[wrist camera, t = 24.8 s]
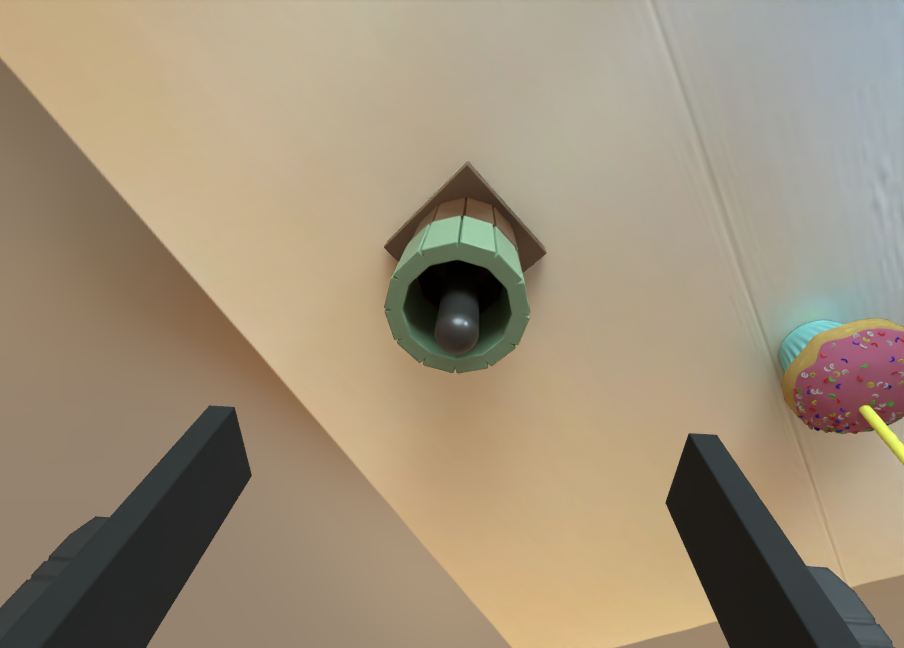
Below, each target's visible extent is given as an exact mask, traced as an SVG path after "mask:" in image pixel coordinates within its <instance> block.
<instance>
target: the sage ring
mask: <svg viewBox="0 0 904 648" xmlns="http://www.w3.org/2000/svg"><path fill="white" fill-rule="evenodd" d="M454 260H460V261H464V262H467V263H471V264H474V265H477V266H481V267H484V268H487V269H488V270H489V271H490V272H491V273H492V274H493V275H494V276H495V277H496V278H497V279H498V280H499V281H500V282H501V283H502V285H503V288H502V291H501V294H500V296H499V299H498V300H497V301H496V302H495V303H493V304H492V305H491V306H490V307H488V308H487V309H486V310H485V311H484V312H482V313H479V338H478V341H477V343H476V344H475V346H474V347H473V348H472V349H471V350H470V351H468V352H466V353H463V354H451V353H448V352H446V351H445V350H443V349H442V348H441V347H440V346H439V344H438V343H437V341H436V337H435V327H436V321H437V316H438V311H436V310H435V309H434V308H433V307H432V306H431V305H430V304H429V303H428V302H427V301H426V300H425V299H424V298H423V297H422V296H421V293H420V290H419V286H418V283H417V280H416V278H417V277H418V276H419V275H420V274H421V273H422V272H424V271H425V270H426V269H427V268H428V267H429V266H431V265H436V264H441V263H445V262H450V261H454ZM384 308H386V309H385V314H386V317H387V320H388V323H389V326H390V329H391V331H392V334H393V337H394V340H397V339H398V341H397V343H398V344H399V345H400V346H401V347H402V348H403V349H404V350H405V351H407V352H408V353H409V354H410V355H411V356H412V357H413V358H414V359H416V360H417V361H418V362H419V363H420V362H422V361H423V360H424V361H423V365H424V366H428V367H432V368H435V369H439V370H443V371H447V372H450V373H454V371H455V369H456V373H463V372H469V371H475V370H480V369H486V368H488V364H489V365H490V366H493V365H494V364H495V363H496V362H498V361H499V360H500V359H502V358H503V357H504V356H506V355H507V354H508V353H510V352H511V351H512V350H514V349H515V345H518V344H519V342H520V340H521V337H522V335H523V333H524V330H525V328H526V325H527V323H528V321H529V318H530V316H529V313H530V308H529V303H528V298H527V292H526V287H525V282H524V278H523V274H522V270H521V266H520V261H519V257H518V253H517V251H516V250H515V246H514V245H513V244H512V243H511V242H510V241H509V240H508V239H507V238H506V237H505V236H504V234H503V233H502V232H501V231H500V230H499V229H498V228H497V227H496V226H495V227H494V228H493V224H491V223H487V222H484V221H481V220H477V219H474V218H471V217H467V216H463V220H462V219H461V216H456V217H452V218H448V219H443V220H439V221H435V222H432V223H431V226H430V225H429V224H428V225H427V226H426V227H425V228H424V229H422V230H421V231H420V232H419V233H418V234H417V235H416V236H415V237H414V238H413V239H412V240H411V241H410V242H409V243H408V245H407V247H406V248H405V250H404V253H403V255H402V257H401V259H400V261H399V263H398V265H397V267H396V269H395V271H394V273H393V275H392V277H391V281H390V285H389V289H388V293H387V298H386V302H385V306H384Z"/></svg>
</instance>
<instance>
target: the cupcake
mask: <svg viewBox="0 0 904 648" xmlns="http://www.w3.org/2000/svg"><path fill="white" fill-rule="evenodd" d="M779 359H780V362H781V365H782V366H783V368H784V371H785V374H784V377H783V381H782V388H783V393H784V399H785V402H786V403H787V405H788V406H789V407H790V408H791V409H792V411H793V412H794V413H795V414H796V415H797V416H798V417H799V418H800V419H801V420H802V421H803V422H804V423H805V424H806V425H808V427H809V428H810V429H811V430H812V429H813V428H812V427H814V429H815V430H817V431H819V430H822V431H824V432H826V433H828V432H836V433H840V434H845V433H853V434H857V433H858V432H865V431H873V430H875V431H876V432H877V434H878V435H879V436H880V437H881V438H882V440H883V441H884V442H885V443H886V444H887V446H888V447H889V448H890V449H891V450H892V452H893V453H894V454H895V455H896V456H897V458H898V459H899V460H900V461H901V462H902V464H903V465H904V445H903V443H902V442H901V441H900V440H899V439H898V438H897V437H896V435H895V434H894V433H893V432H892V431H891V430H890V428H889V427H888V426H887V425H889V424H892V423H894V422H896V421H898V420H899V419H902V417H904V327H902V326H899V325H897V324H895V323H893V322H891V321H889V320H886V319H864V320H859V321H853V322H850V323H847V324H842V323H838V322H834V321H828V320H819V321H813V322H809V323H806V324H804V325H802V326H800V327H798V328H797V329H795V330H794V331H793V332H791V333H790V334H789V335H788V336H787V337H786V339H785V340H784V341H783V343H782V345H781V347H780V351H779Z"/></svg>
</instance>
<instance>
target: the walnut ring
mask: <svg viewBox="0 0 904 648" xmlns="http://www.w3.org/2000/svg"><path fill="white" fill-rule="evenodd" d="M456 216H461V219H462V220H463V216H467V217H471V218H474V219H477V220H481V221H484V222H487V223H491V224H493V228H494V227H495V226H496V227H497V228H498V229H499V230H500V231H501V232H502V233H503V234H504V236H505V237H506V238H507V239H508V240H509V241H510V242H511V243H512V244H513V245H514V246H515V250H516V251H517V253H518V257H519V251H518V247H517V243H516V240H515V236H514V232H513V228H511V224H510V223H509V222H508V221H507V220H506V219H505V218H504V217H503V215H502V214H501V213H500V212H499V211H498V210H497V209H496V208H495V207H494V208H492V205H490V204H487V203H484V202H481V201H477V200H474V199H471V198H467V201H466V200H465V198H460V199H456V200H452V201H448V202H444V203H440V205H439V206H438V205H437V206H436V207H435V208H434V209H433V210H432V211H431V212H430V213H429V214H428V215H427V216H426V217H425V218H423V219H422V220H421V221H420V224H419V225H418V227H417V229H416V231H415V233H414V235H413V238H414V237H415V236H416V235H417V234H418V233H419V232H420V231H421V230H422V229H424V228H425V227H426V226H427V225H428V224H429V225H430V226H431V223H432V222H435V221H439V220H443V219H448V218H452V217H456ZM413 238H412V239H413ZM519 261H520V257H519ZM520 266H521V262H520ZM521 270H522V267H521ZM522 274H523V273H522ZM416 280H417V283H418V286H419V290H420V293H421V296H422V297H423V298H424V299H425V300H426V301H427V302H428V303H429V304H430V305H431V306H432V307H433V308H434V309H435V310H436V311H439V305H440V300H441V295H442V290H443V284H444V280H442V279H441V278H440V277H439V276H438V275H437V274H436V273H435V272H434V271H433V270H432V269H431V267H430V266H429V267H428V268H427V269H426V270H425V271H424V272H422V273H421V274H420V275H419V276H418V277H417V278H416ZM502 288H503V285H502V283H501V282H500V281H499V280H498V279H497V278H496V277H495V276H494V275H493V274H492V275H491V276H490V277H489V278H488V279H486V280H485V281H484V282H483V283H480V284H479V313H482V312H484V311H485V310H486V309H487V308H488V307H490V306H491V305H492V304H493V303H495V302H496V301H497V300H498V299H499V296H500V294H501V291H502Z"/></svg>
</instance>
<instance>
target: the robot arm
mask: <svg viewBox="0 0 904 648" xmlns="http://www.w3.org/2000/svg"><path fill="white" fill-rule="evenodd" d="M251 476H252V475H251V471H250V467H249V463H248V459H247V455H246V451H245V447H244V443H243V439H242V435H241V431H240V427H239V423H238V419H237V415H236V411H235V407H224V406H209V407H208V408H207V409H206V410H205V411H204V412H203V413H202V415H201V416H200V417H199V418H198V419H197V420H196V421H195V422H194V424H193V425H192V426H191V427H190V428H189V429H188V430H187V431H186V432H185V434H184V435H183V436H182V437H181V438H180V439H179V440H178V442H176V444H175V445H174V446H173V447H172V448H171V449H170V450H169V451H168V453H167V454H166V455H165V456H164V457H163V458H162V459H161V460H160V462H159V463H158V464H157V465H156V466H155V467H154V468H153V469H152V471H151V472H150V473H149V474H148V475H147V476H146V477H145V478H144V479H143V481H142V482H141V483H140V484H139V485H138V486H137V487H136V488H135V490H134V491H133V492H132V493H131V494H130V495H129V496H128V497H127V499H126V500H125V501H124V502H123V503H122V504H121V505H120V507H118V509H117V510H116V511H115V512H114V513H113V514H112V515H111V516H110V517H95V518H93V519H92V520H90V521H89V522H87V523H86V524H84V525H83V526H81V527H80V528H79V529H77V530H76V531H74V532H73V533H71V534H70V535H69V536H68V537H67V538H66V539H65V540H64V541H63V542H62V543H61V544H60V545H59V547H57V549H56V550H55V551H54V552H53V553H52V554H51V555H50V556H49V559H48V561H44V562H43V563H42V564H41V566H40V567H39V568H38V569H37V570H36V571H35V572H34V573H33V574H32V575H31V578H30V579H29V580H26V581H25V582H24V583H23V584H22V585H21V587H20V588H19V589H18V590H17V591H16V592H15V593H14V594H13V595H12V596H11V597H10V598H9V599H8V600H7V601H6V602H5V603H4V604H3V605H2V607H1V608H0V648H146V647H147V645H148V643H149V642H150V640H151V638H152V637H153V635H154V634H155V632H156V630H157V629H158V627H159V625H160V624H161V622H162V621H163V619H164V617H165V616H166V614H167V612H168V611H169V609H170V608H171V606H172V604H173V603H174V601H175V599H176V598H177V596H178V594H179V593H180V591H181V590H182V588H183V586H184V585H185V583H186V582H187V580H188V578H189V576H190V575H191V573H192V572H193V570H194V569H195V567H196V565H197V564H198V562H199V560H200V559H201V557H202V555H203V554H204V552H205V551H206V549H207V547H208V546H209V544H210V542H211V541H212V539H213V538H214V536H215V534H216V533H217V531H218V530H219V528H220V526H221V525H222V523H223V521H224V520H225V518H226V517H227V515H228V513H229V511H230V510H231V508H232V507H233V505H234V504H235V502H236V500H237V499H238V496H240V494H241V492H242V491H243V489H244V487H245V486H246V484H247V483H248V481H249V479H250V478H251ZM666 505H667V507H668V510H669V512H670V514H671V516H672V519H673V521H674V523H675V525H676V528H677V530H678V532H679V534H680V537H681V539H682V541H683V543H684V546H685V548H686V550H687V552H688V555H689V557H690V559H691V561H692V564H693V566H694V568H695V570H696V573H697V575H698V577H699V579H700V582H701V584H702V586H703V588H704V591H705V593H706V595H707V597H708V600H709V602H710V604H711V606H712V609H713V611H714V613H715V615H716V618H717V620H718V622H719V624H720V627H721V629H722V631H723V633H724V636H725V638H726V640H727V642H728V645H729V647H730V648H894V647H893V645H892V641H891V640H890V638H889V637H888V636H887V634H886V633H885V632H884V630H883V629H882V628H881V626H880V625H879V624H876V622H875V618H874V617H873V615H872V614H871V613H870V612H869V610H868V609H867V607H866V606H865V605H864V603H863V602H862V601H861V599H860V598H859V597H858V595H857V594H856V593H855V591H853V590H852V589H851V588H850V587H849V586H848V585H847V584H845V583H844V582H843V581H842V580H841V579H840V578H839V577H838V576H836V575H835V574H834V573H833V572H832V571H831V570H830V569H828V568H825V567H811V566H806V565H805V563H804V562H803V560H802V559H801V557H800V556H799V555H798V553H797V552H796V550H795V549H794V547H793V546H792V544H791V543H790V541H789V540H788V538H787V537H786V536H785V534H784V533H783V531H782V530H781V528H780V527H779V525H778V524H777V522H776V521H775V519H774V518H773V517H772V515H771V514H770V512H769V511H768V509H767V508H766V506H765V505H764V503H763V502H762V500H761V499H760V498H759V496H758V495H757V493H756V492H755V490H754V489H753V487H752V486H751V484H750V483H749V481H748V480H747V479H746V477H745V476H744V474H743V473H742V471H741V470H740V468H739V467H738V465H737V464H736V462H735V461H734V460H733V458H732V457H731V455H730V454H729V452H728V451H727V449H726V448H725V446H724V445H723V443H722V442H721V441H720V439H719V438H718V436H717V435H708V434H691V433H689V434H688V437H687V440H686V443H685V446H684V449H683V452H682V455H681V458H680V461H679V464H678V467H677V470H676V473H675V476H674V479H673V482H672V485H671V488H670V491H669V494H668V497H667V500H666Z"/></svg>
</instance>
